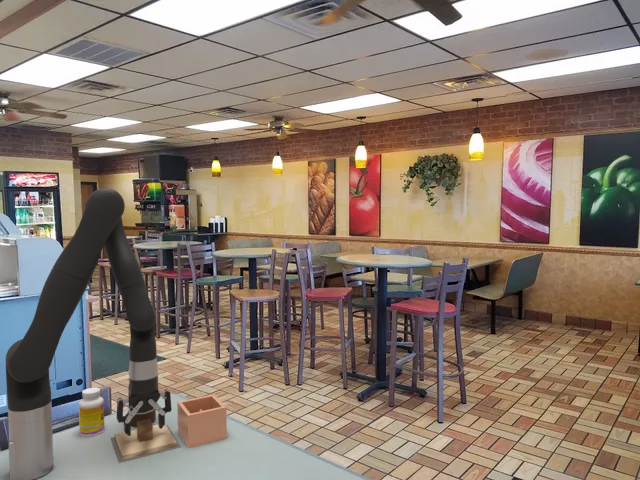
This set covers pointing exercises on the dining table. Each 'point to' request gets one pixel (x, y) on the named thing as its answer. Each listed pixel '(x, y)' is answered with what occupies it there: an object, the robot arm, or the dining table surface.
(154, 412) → the beer bottle
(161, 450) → the mat
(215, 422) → the terracotta square planter
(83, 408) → the supplement bottle
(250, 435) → the dining table surface
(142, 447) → the lid
